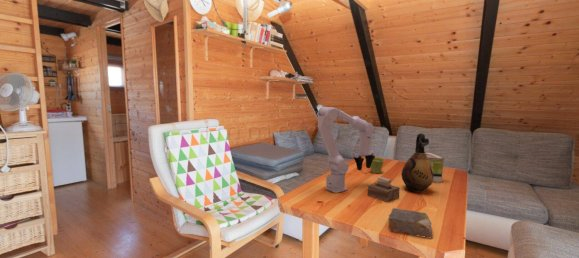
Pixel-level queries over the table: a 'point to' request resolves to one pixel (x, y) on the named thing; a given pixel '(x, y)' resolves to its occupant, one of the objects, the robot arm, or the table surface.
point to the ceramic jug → (418, 168)
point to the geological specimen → (410, 222)
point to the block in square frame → (383, 192)
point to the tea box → (436, 166)
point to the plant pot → (377, 165)
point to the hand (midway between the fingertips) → (363, 168)
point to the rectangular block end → (384, 183)
